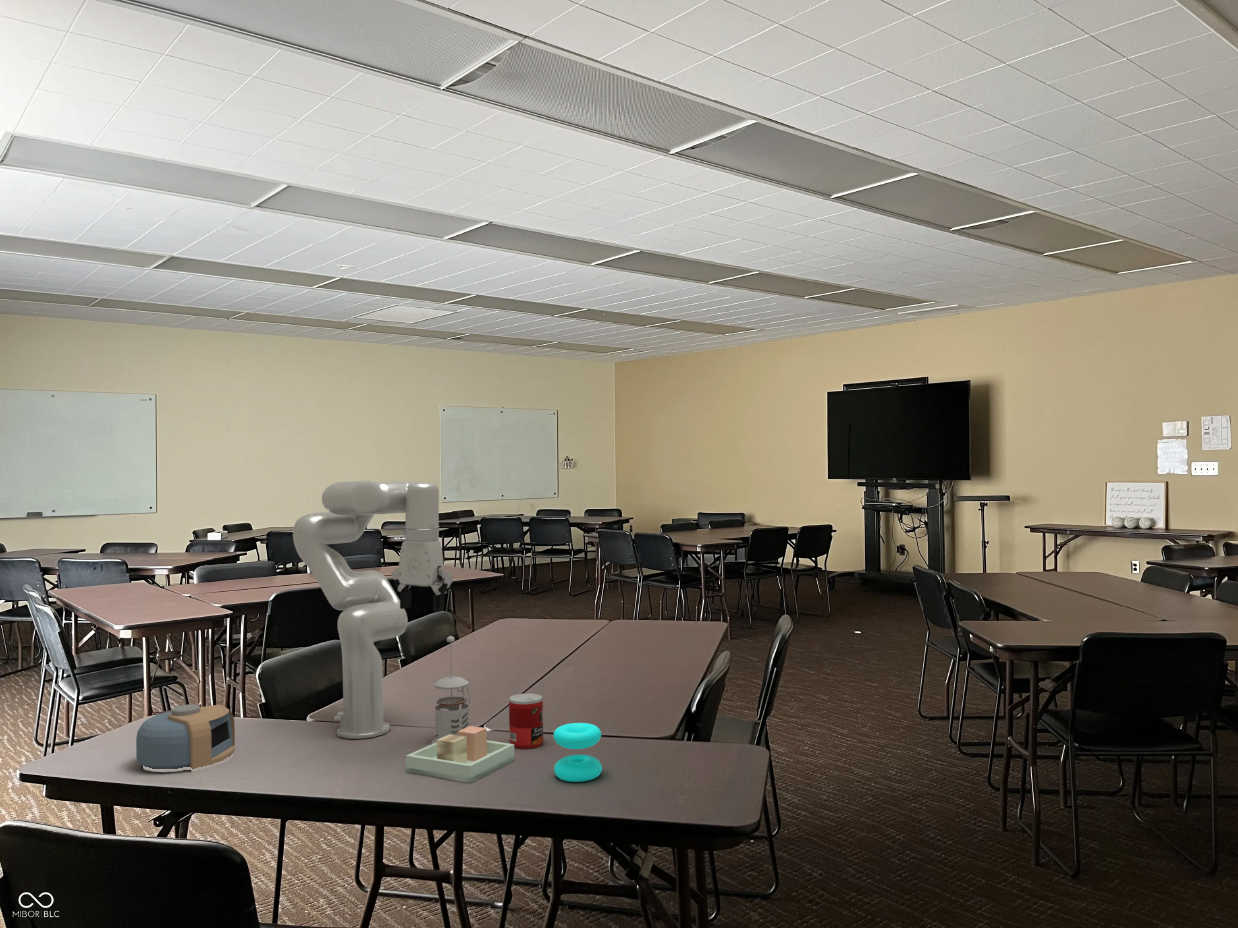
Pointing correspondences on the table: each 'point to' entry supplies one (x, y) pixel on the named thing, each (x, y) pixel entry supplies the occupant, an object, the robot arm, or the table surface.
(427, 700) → the table surface
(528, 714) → the canned food
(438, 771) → the tray
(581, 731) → the donuts
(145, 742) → the alarm clock
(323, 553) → the robot arm
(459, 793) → the table surface
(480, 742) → the terracotta block
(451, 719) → the french press
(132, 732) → the table surface
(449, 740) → the birch block
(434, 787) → the table surface
